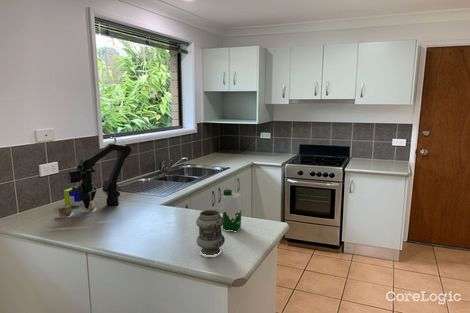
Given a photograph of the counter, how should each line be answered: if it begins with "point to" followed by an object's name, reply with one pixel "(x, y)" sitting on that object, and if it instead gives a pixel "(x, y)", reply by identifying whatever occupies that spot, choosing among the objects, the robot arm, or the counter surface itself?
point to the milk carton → (231, 210)
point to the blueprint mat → (79, 213)
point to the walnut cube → (65, 210)
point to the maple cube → (90, 208)
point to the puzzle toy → (72, 198)
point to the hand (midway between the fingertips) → (89, 206)
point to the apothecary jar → (210, 231)
